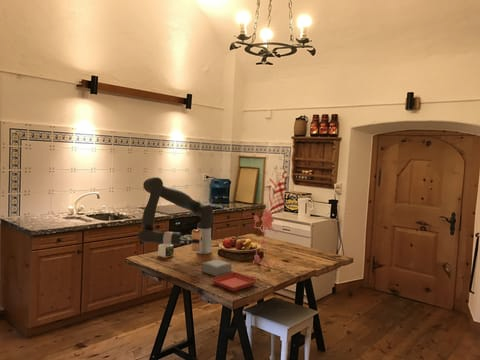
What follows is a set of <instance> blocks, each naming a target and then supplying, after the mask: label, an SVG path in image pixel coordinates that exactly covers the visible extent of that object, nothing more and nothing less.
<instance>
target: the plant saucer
mask: <svg viewBox="0 0 480 360" xmlns="http://www.w3.org/2000/svg"><path fill="white" fill-rule="evenodd" d="M210 280H211V282H212V283H213V284H214V285H216V286H219V287H222V288H224V289H226V290H228V291H231V292H235V291H239V290H242V289H246V288H249V287H252V286H253V285H254V284H255V283H256V282H257V281H258V280H257V279H256V278H253V277H250V276H248V275H244V274H241V273H238V272H235V271H233V272H232V271H231V272H230V273H226V274H223V275H220V276H217V277H216V276H214V277H211V278H210Z"/></svg>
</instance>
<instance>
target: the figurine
mask: <svg viewBox="0 0 480 360" xmlns="http://www.w3.org/2000/svg"><path fill="white" fill-rule="evenodd" d="M262 214H263V216H261V217H259V215H257V214H255V215H254V216H253V219H254V229H259V230H260V232H262V234H263V235H264V236H263V238H262V239H261V240H260V242H259V243H256V244H254V245H255V247H254V248H257V245H259V244H261V245H263V246H264V254H266V251H267V249H266V241H265V237H266V234H267V232H266V229H267V230H268V231H270V230H272V231H273V232H274V233H275V234H277V232H276V230H275V229H274V228H273V227H272V226H273V222H274V221H275V219H274V218H273V213H272V212H271V210H270V209H269V210H267V209H266V208H265V209H264V210H263V213H262ZM260 220H261V222H262V224H261V225H260V227H259V226H258V227H257V226H256V224H257V223H259V222H260ZM262 227H263V229H262ZM257 251H258V250H257V249H255V253H256V254H254V259H253V261H252V265H254V263H255V262H257V263H259V262H260V261H262V263H260V266H259V269H261V268H262V267H263V265H264V263H265V264H266V265H267V267H268V268H269V269H270V268H271V266H270V264H269V263H270V261H268V260H266V257H264V258H262V259H263V260H262V259H261V258H260V256H259V255H258V253H257ZM268 262H269V263H268ZM273 264H275V265H276V266H278V265H277V264H276V263H274V262H273Z"/></svg>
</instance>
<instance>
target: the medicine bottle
mask: <svg viewBox="0 0 480 360" xmlns="http://www.w3.org/2000/svg"><path fill="white" fill-rule="evenodd" d="M157 247H158V248H157V249H158V251H157V253H158V254H157V255H158V257H161V258H165V259H166V258H171V257H173V256H174V250H175V249H174V248H175V245H168V244H159V245H158V246H157Z"/></svg>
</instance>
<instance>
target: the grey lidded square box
mask: <svg viewBox="0 0 480 360" xmlns="http://www.w3.org/2000/svg"><path fill="white" fill-rule="evenodd" d="M201 272H203V273H206V274H208V275H211V276H214V277H218V276H221V275H225V274H229V273H232V263H231V262H227V261H224V260H220V259H218V258H216V259H213V260H208V261H205V262H202V263H201Z"/></svg>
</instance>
